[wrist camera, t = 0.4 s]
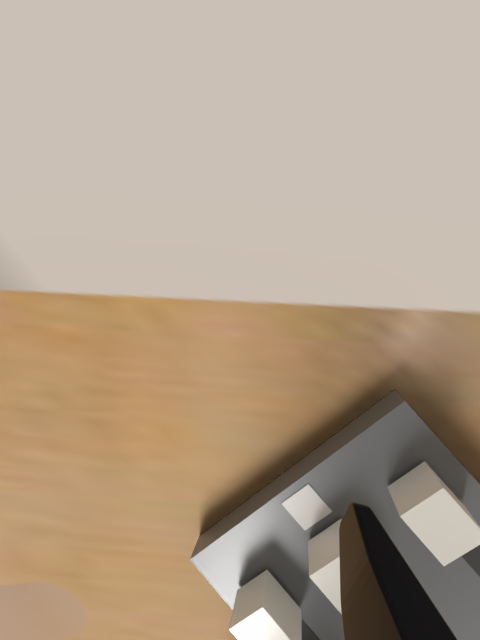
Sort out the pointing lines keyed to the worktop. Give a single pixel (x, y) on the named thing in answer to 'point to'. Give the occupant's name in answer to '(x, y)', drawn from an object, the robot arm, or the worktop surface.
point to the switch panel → (330, 506)
